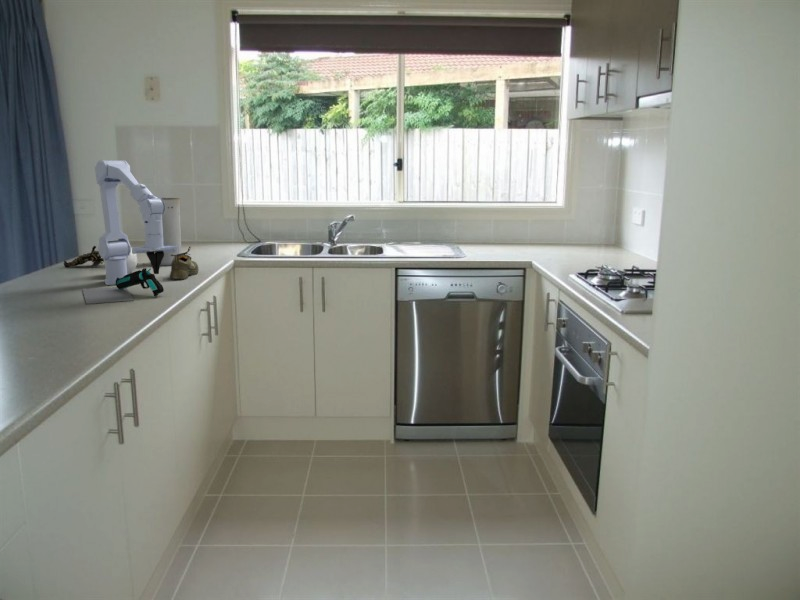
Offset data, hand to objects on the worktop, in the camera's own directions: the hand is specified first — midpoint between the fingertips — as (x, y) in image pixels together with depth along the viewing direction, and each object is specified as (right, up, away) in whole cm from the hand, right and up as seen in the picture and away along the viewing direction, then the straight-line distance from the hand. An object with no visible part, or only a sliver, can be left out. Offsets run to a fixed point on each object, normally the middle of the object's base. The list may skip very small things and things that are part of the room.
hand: (156, 273), depth 230 cm
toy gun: (-5, -7, -1) cm, 9 cm away
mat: (-14, -8, -6) cm, 17 cm away
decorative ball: (-24, 0, +30) cm, 38 cm away
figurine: (-46, +4, +48) cm, 67 cm away
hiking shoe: (-1, 0, +32) cm, 32 cm away
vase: (-17, +6, +59) cm, 62 cm away
